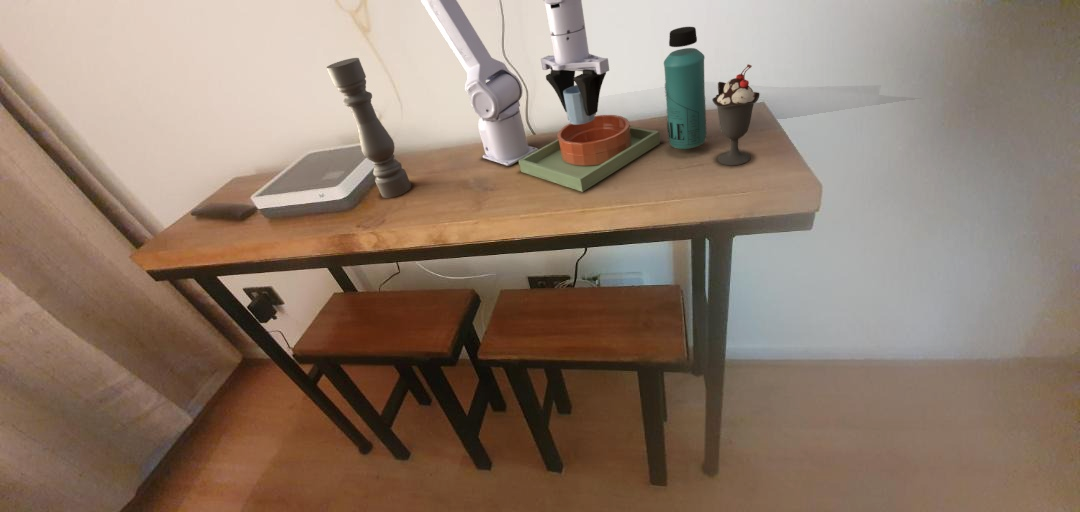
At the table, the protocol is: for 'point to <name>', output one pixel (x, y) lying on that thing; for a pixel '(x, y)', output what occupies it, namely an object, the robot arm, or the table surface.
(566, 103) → the pale blue cup
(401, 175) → the candle holder
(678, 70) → the beverage bottle
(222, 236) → the table surface
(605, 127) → the big bowl
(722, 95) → the sundae
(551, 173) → the tray
